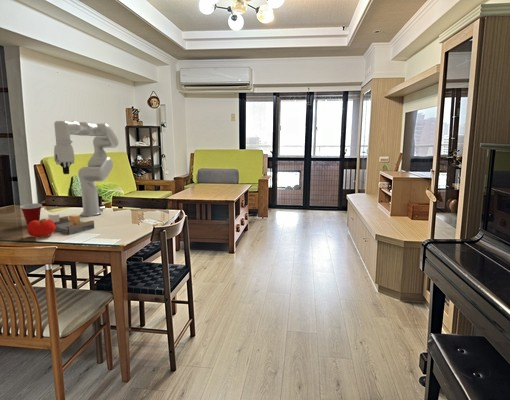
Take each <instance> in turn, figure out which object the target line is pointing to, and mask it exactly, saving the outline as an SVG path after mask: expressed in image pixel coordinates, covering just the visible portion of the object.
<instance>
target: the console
mask: <svg viewBox="0 0 510 400" xmlns="http://www.w3.org/2000/svg"><path fill="white" fill-rule="evenodd" d="M59 220H60V221H59V222H56V224H55V225H56V230H55V231H54V233H55V232H56V233H60V234H64V235H65V234H66V235H72V234H73V235H74V234H77V233H81V232H84V231H88V230H92V229H95V220H89V221H80V223H76V224H75V225H74V224H73V223H69V215H68V216H67V215H66V216H62V217H59Z"/></svg>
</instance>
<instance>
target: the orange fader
mask: <svg viewBox="0 0 510 400" xmlns="http://www.w3.org/2000/svg"><path fill="white" fill-rule="evenodd" d="M80 216H81V215H78V214H71V215H68V218H69V223H73V224H74V225H75V224H76V223H80V222H81V217H80Z"/></svg>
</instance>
